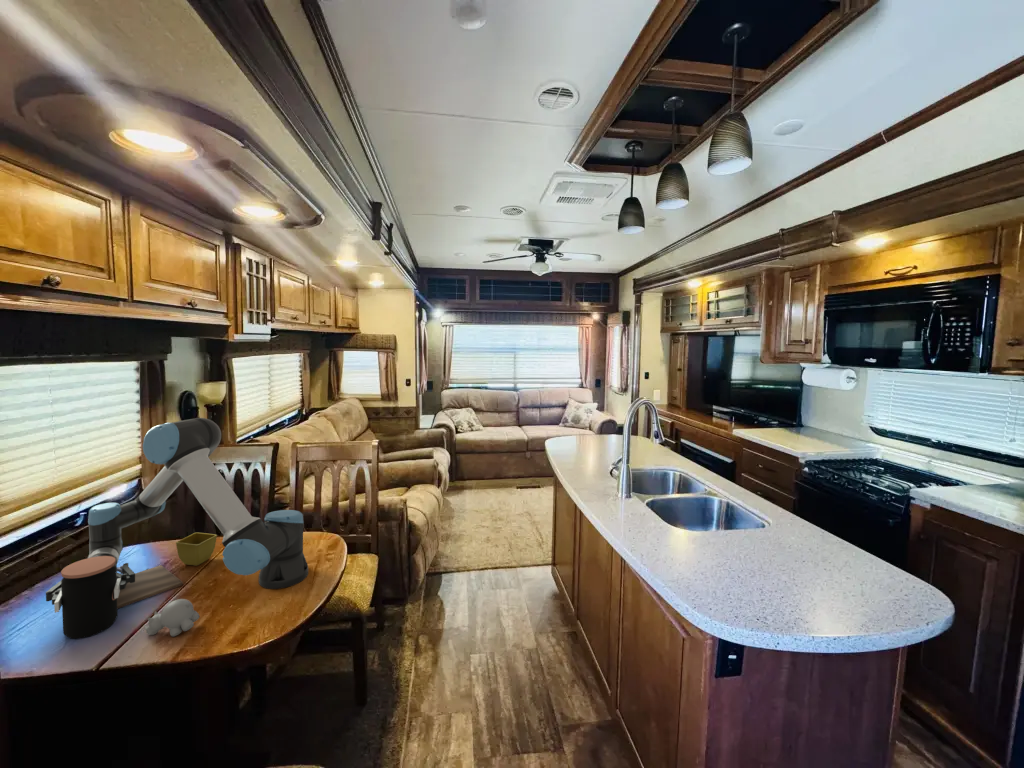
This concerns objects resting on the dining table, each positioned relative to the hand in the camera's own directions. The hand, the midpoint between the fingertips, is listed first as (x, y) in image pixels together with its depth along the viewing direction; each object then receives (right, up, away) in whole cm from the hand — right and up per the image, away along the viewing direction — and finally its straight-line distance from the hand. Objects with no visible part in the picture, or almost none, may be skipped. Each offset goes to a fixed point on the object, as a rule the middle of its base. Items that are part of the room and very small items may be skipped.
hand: (87, 600), depth 113 cm
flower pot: (-1, -7, +41) cm, 41 cm away
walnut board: (-7, -8, +23) cm, 26 cm away
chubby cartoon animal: (+19, -11, +4) cm, 23 cm away
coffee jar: (-3, -10, +4) cm, 11 cm away
